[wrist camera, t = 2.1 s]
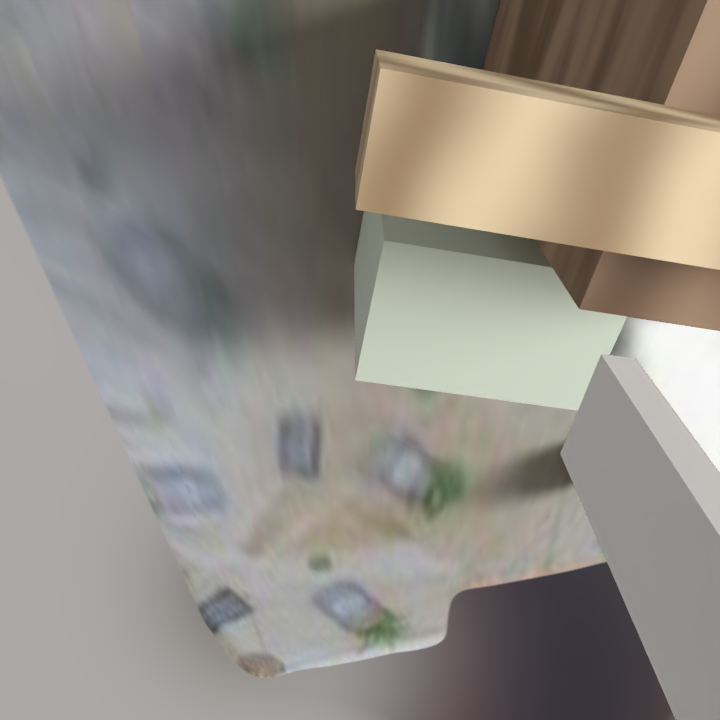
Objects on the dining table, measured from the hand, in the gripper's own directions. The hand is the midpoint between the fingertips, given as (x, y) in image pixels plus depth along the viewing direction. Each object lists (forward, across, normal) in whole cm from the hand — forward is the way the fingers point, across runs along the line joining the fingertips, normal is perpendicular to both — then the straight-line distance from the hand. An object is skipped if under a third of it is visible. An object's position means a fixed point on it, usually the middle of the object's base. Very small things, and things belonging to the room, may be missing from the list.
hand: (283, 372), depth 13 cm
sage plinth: (+42, +12, -11) cm, 45 cm away
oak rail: (+12, +16, +3) cm, 20 cm away
